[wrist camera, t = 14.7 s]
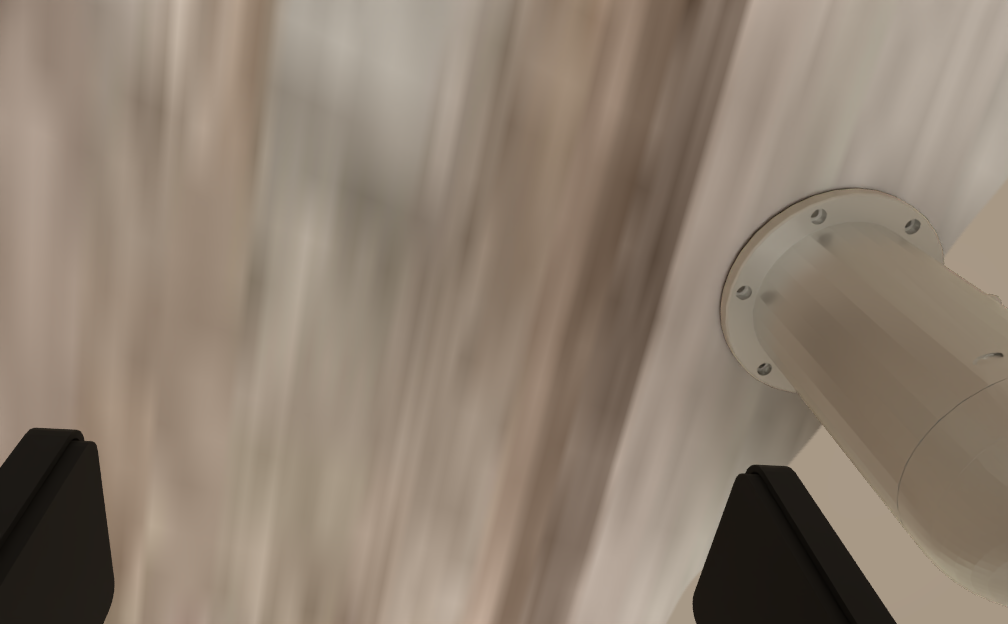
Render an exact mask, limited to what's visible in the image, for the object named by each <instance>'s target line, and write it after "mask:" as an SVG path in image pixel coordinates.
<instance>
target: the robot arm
mask: <svg viewBox="0 0 1008 624" xmlns="http://www.w3.org/2000/svg"><path fill="white" fill-rule="evenodd" d="M813 212H814V213H813ZM812 213H813V214H812ZM740 287H741V288H740ZM720 310H721V326H722V330H723V333H724V337H725V340H726V343H727V345H728V346H729V348H730V350H731V351H732V353H733V355H734V357H735V358H736V359H737V360H738V362H739V363H740V364H741V365H742V367H743V368H744V369H745V370H746V371H747V372H748V373H749V374H750V375H751V376H753V377H754V378H755V379H757V380H758V381H760V382H762V383H764V384H766V385H768V386H770V387H772V388H776V389H780V390H784V391H788V392H796V393H798V394H799V395H800V397H801V398H802V399H803V401H804V402H805V403H806V404H807V406H808V407H809V408H810V409H811V411H812V412H813V413H814V415H815V416H816V417H817V418H818V420H819V421H820V422H821V423H822V425H823V426H824V427H825V428H826V430H827V431H828V432H829V434H830V435H831V436H832V437H833V439H834V440H835V441H836V442H837V444H838V445H839V446H840V448H841V449H842V450H843V451H844V453H845V454H846V455H847V456H848V458H849V459H850V460H851V461H852V463H853V464H854V465H855V467H856V468H857V469H858V470H859V472H860V473H861V474H862V475H863V477H864V478H865V479H866V480H867V482H868V483H869V484H870V486H871V487H872V488H873V490H874V491H875V492H876V493H877V494H878V496H879V497H880V498H881V500H882V501H883V502H884V504H885V505H886V506H887V507H888V509H889V510H890V511H891V512H892V514H893V515H894V516H895V517H896V519H897V520H898V521H899V523H900V524H901V525H902V526H903V528H904V529H905V530H906V531H907V533H908V534H909V535H910V537H911V538H912V539H913V540H914V541H915V542H916V544H917V545H918V546H919V548H920V549H921V550H922V551H923V553H924V554H925V555H926V556H927V557H928V558H929V559H930V560H931V562H933V564H934V565H935V566H936V567H937V568H938V569H939V570H941V571H942V572H943V573H944V574H945V575H946V576H948V577H949V578H950V579H951V580H953V581H954V582H956V583H957V584H959V585H960V586H962V587H963V588H965V589H966V590H968V591H970V592H971V593H973V594H975V595H977V596H980V597H982V598H984V599H987V600H989V601H991V602H994V603H997V604H1000V605H1002V606H1005V607H1008V308H1006V307H1005V306H1004V305H1002V303H1001V300H1000V299H999V297H998V296H996V295H991V294H986V293H984V292H983V291H981V290H980V289H978V288H977V287H975V286H974V285H972V284H971V283H969V282H968V281H966V280H965V279H964V278H962V277H960V276H959V275H958V274H956V273H955V272H953V271H951V270H950V269H949V268H947V267H946V266H944V257H943V249H942V246H941V244H940V241H939V238H938V235H937V233H936V231H935V230H934V228H933V227H932V225H931V224H930V223H929V221H928V220H927V218H926V217H924V216H923V215H922V214H921V213H920V212H918V211H917V210H916V209H915V208H914V207H913V206H911V205H909V204H907V203H906V202H904V201H902V200H900V199H899V198H897V197H895V196H892V195H889V194H886V193H883V192H880V191H877V190H868V189H859V188H855V189H842V190H834V191H830V192H826V193H822V194H819V195H815V196H812V197H810V198H808V199H805V200H803V201H801V202H799V203H797V204H794V205H792V206H791V207H789V208H788V209H786V210H784V211H783V212H781V213H780V214H778V215H777V216H775V217H774V218H772V219H771V220H770V221H769V222H768V223H767V224H766V225H765V226H763V227H762V228H761V229H760V230H759V231H758V232H757V233H756V234H755V235H754V236H753V237H752V238H751V240H750V241H749V242H748V243H747V245H746V246H745V247H744V248H743V249H742V251H741V252H740V254H739V256H738V257H737V259H736V261H735V263H734V264H733V266H732V268H731V270H730V272H729V275H728V278H727V280H726V283H725V286H724V289H723V294H722V301H721V307H720ZM113 594H114V574H113V566H112V558H111V550H110V543H109V535H108V527H107V519H106V511H105V504H104V496H103V488H102V480H101V472H100V465H99V457H98V450H97V445H96V444H95V442H92V441H84V437H83V434H82V433H81V431H79V430H70V429H50V428H33V429H30V430H29V431H28V432H27V433H26V434H25V435H24V437H23V438H22V439H21V441H20V442H19V443H18V445H17V446H16V447H15V449H14V450H13V451H12V453H11V454H10V455H9V457H8V458H7V459H6V461H5V462H4V463H3V465H2V466H1V467H0V624H103V623H104V621H105V618H106V616H107V614H108V612H109V609H110V606H111V603H112V599H113ZM693 612H694V617H695V621H696V623H697V624H897V623H896V622H895V620H894V619H893V618H892V616H891V615H890V613H889V612H888V610H887V608H886V607H885V606H884V604H883V603H882V601H881V600H880V598H879V597H878V595H877V594H876V592H875V591H874V589H873V588H872V586H871V585H870V583H869V582H868V580H867V579H866V577H865V576H864V574H863V573H862V571H861V570H860V568H859V567H858V565H857V564H856V562H855V561H854V559H853V558H852V556H851V555H850V553H849V552H848V551H847V549H846V548H845V546H844V544H843V543H842V542H841V540H840V538H839V537H838V535H837V534H836V532H835V531H834V530H833V528H832V527H831V525H830V524H829V522H828V521H827V519H826V518H825V516H824V515H823V513H822V512H821V510H820V509H819V507H818V506H817V504H816V503H815V501H814V500H813V498H812V497H811V495H810V494H809V493H808V491H807V489H806V488H805V486H804V485H803V483H802V482H801V480H800V479H799V477H798V476H797V474H796V473H795V472H794V471H793V470H792V469H791V468H789V467H787V466H770V465H752V466H750V467H749V468H748V469H747V471H746V473H745V474H739V475H738V476H737V477H736V479H735V482H734V484H733V487H732V490H731V493H730V495H729V498H728V501H727V504H726V507H725V509H724V512H723V515H722V518H721V520H720V523H719V526H718V529H717V531H716V534H715V537H714V540H713V542H712V545H711V548H710V551H709V553H708V556H707V559H706V562H705V564H704V567H703V570H702V573H701V575H700V578H699V581H698V584H697V587H696V589H695V592H694V596H693Z"/></svg>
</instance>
